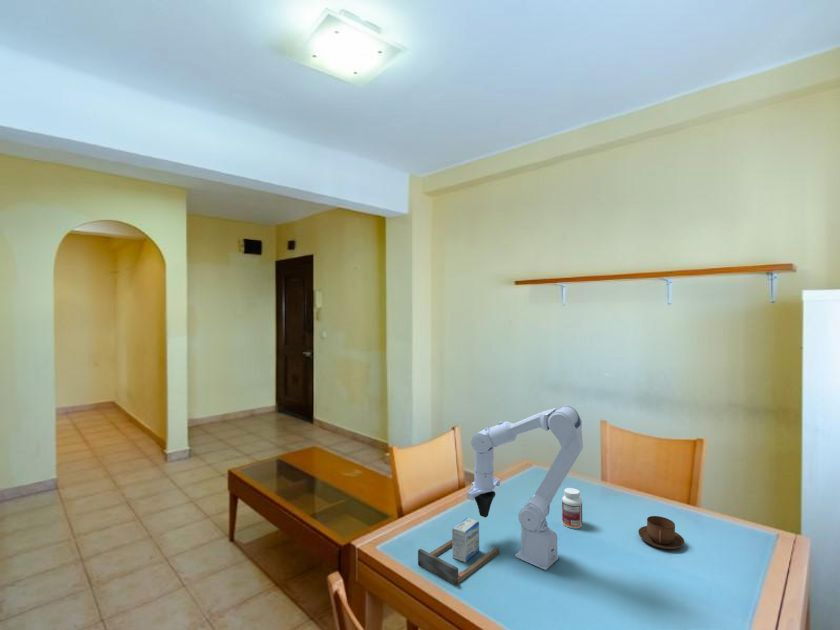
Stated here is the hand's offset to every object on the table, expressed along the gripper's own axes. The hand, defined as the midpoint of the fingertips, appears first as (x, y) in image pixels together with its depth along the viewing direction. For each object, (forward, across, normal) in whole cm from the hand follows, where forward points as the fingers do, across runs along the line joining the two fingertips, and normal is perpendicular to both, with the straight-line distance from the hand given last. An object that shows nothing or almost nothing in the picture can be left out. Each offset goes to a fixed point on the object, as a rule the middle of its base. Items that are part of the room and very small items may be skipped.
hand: (483, 515), depth 130 cm
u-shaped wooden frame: (+8, +12, 0) cm, 14 cm away
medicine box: (+8, +9, 0) cm, 12 cm away
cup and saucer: (+8, -36, +39) cm, 54 cm away
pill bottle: (+8, -28, +15) cm, 33 cm away
